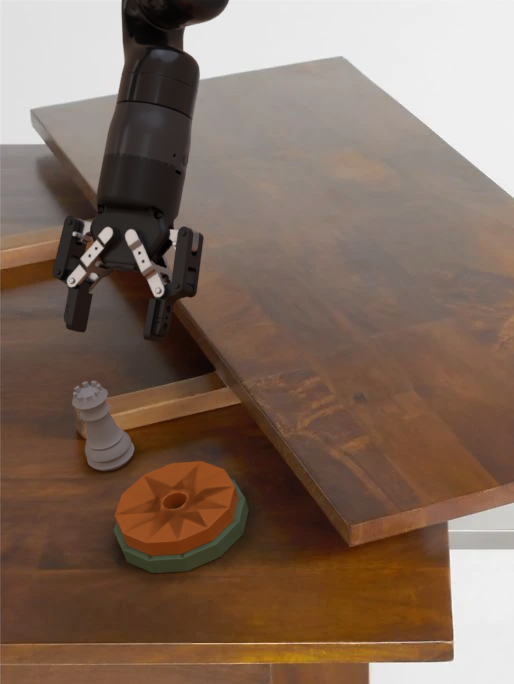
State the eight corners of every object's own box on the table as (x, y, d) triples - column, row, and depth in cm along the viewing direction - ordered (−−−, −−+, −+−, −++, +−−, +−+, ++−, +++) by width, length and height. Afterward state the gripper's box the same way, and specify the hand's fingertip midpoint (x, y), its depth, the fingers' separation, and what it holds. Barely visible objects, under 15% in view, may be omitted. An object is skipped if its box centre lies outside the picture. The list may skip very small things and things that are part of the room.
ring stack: (106, 576, 115) (95, 550, 113) (136, 487, 123) (127, 462, 122) (234, 569, 113) (226, 542, 111) (257, 479, 122) (249, 453, 120)
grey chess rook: (111, 479, 125) (85, 410, 120) (78, 465, 127) (51, 396, 123) (145, 450, 127) (121, 381, 123) (113, 436, 130) (87, 369, 125)
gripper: (57, 145, 126) (24, 320, 125) (189, 154, 120) (156, 338, 119) (105, 168, 133) (75, 334, 132) (232, 177, 127) (201, 351, 126)
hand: (113, 336), depth 125 cm, fingers open, 8 cm apart
